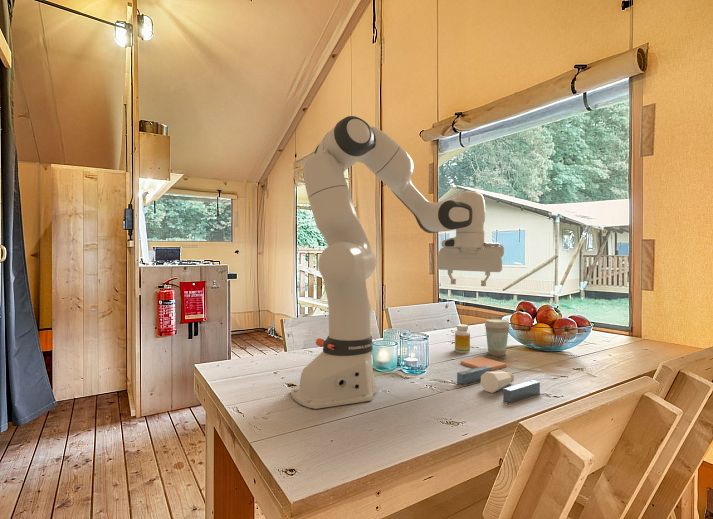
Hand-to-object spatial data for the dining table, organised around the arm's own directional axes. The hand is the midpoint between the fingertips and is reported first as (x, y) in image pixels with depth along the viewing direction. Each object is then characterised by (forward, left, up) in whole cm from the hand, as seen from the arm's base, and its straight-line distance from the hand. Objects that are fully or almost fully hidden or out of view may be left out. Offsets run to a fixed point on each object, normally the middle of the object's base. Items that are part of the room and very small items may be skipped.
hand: (468, 285), depth 125 cm
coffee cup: (+20, +4, -26) cm, 33 cm away
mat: (+4, -3, -26) cm, 26 cm away
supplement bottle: (+12, +13, -26) cm, 31 cm away
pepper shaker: (-15, -20, -23) cm, 34 cm away
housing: (-10, -19, -26) cm, 34 cm away
